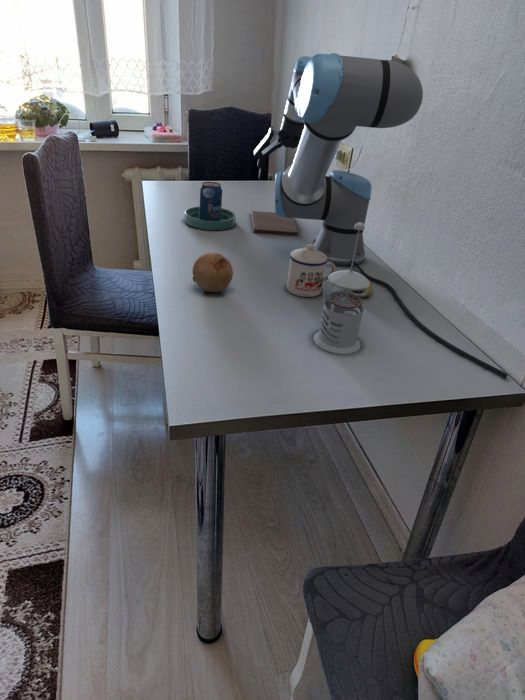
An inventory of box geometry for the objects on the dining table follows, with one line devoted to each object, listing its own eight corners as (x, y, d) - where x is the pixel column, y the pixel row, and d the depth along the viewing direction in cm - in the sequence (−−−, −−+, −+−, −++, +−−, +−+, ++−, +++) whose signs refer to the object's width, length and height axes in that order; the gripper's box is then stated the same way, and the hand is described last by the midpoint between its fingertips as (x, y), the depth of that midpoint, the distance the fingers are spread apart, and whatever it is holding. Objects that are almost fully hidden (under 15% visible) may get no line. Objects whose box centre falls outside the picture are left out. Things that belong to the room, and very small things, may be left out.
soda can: (211, 226, 158) (213, 188, 152) (194, 221, 161) (195, 183, 155) (224, 222, 163) (227, 184, 157) (208, 217, 166) (209, 180, 160)
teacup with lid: (292, 298, 119) (298, 252, 113) (280, 283, 126) (286, 238, 120) (338, 297, 122) (347, 251, 116) (324, 281, 129) (332, 238, 123)
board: (297, 236, 159) (298, 232, 158) (253, 232, 158) (254, 229, 157) (290, 217, 176) (291, 213, 175) (251, 214, 175) (251, 210, 174)
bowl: (235, 232, 156) (235, 223, 155) (182, 228, 155) (183, 219, 153) (234, 217, 170) (235, 208, 168) (186, 213, 168) (186, 204, 167)
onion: (224, 305, 119) (239, 277, 112) (185, 295, 116) (198, 265, 109) (225, 277, 125) (239, 248, 118) (188, 266, 122) (201, 236, 115)
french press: (328, 357, 98) (352, 232, 85) (301, 328, 106) (318, 212, 93) (370, 350, 101) (398, 230, 88) (340, 323, 110) (362, 210, 97)
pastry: (348, 280, 131) (351, 267, 129) (373, 286, 129) (376, 272, 127) (342, 294, 123) (345, 280, 121) (369, 300, 122) (372, 286, 120)
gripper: (336, 117, 149) (316, 179, 165) (253, 102, 144) (242, 167, 161) (339, 130, 144) (319, 192, 160) (254, 115, 140) (242, 181, 156)
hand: (280, 180), depth 161 cm, fingers open, 13 cm apart
